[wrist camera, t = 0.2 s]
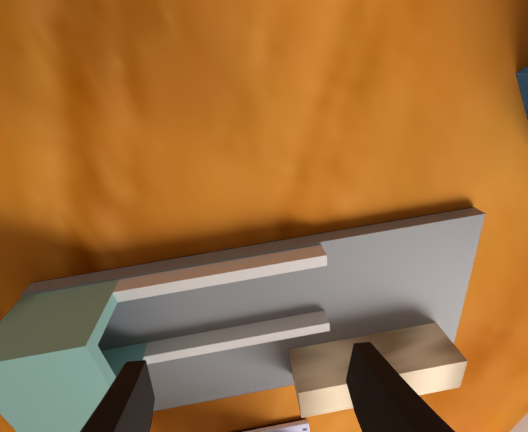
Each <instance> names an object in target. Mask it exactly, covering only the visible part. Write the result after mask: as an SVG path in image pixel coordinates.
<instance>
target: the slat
mask: <svg viewBox="0 0 528 432" xmlns="http://www.w3.org/2000/svg"><path fill="white" fill-rule="evenodd" d="M362 342H371V343H372V344H373V345H374V346H375V348H376V349H377V350H378V351H379V352H380V353H381V354H382V356H383V357H384V358H385V359H386V360H387V361H388V362H389V363H390V365H391V366H392V367H393V368H394V369H395V370H396V371H397V372H398V374H399V375H400V376H401V377H402V378H403V379H404V380H405V381H406V382H407V383H408V384H409V386H410V387H411V388H412V389H413V390H414V391H415V392H416V393H417V394H418V395H423V394H428V393H433V392H438V391H443V390H448V389H454V388H459V387H460V385H461V382H462V378H463V375H464V371H465V368H466V364H467V360H466V359H465V357H464V356H463V355H462V354H461V352H460V351H459V350H458V349H457V348H456V346H455V345H454V344H453V343H452V341H451V340H450V339H449V338H448V336H447V335H446V334H445V333H444V331H443V330H442V329H441V328H440V327H439V325H438V324H437V323H436V322H435V323H430V324H424V325H419V326H414V327H408V328H403V329H397V330H392V331H387V332H381V333H376V334H370V335H365V336H360V337H354V338H349V339H343V340H338V341H333V342H327V343H322V344H316V345H311V346H306V347H300V348H295V349H289V354H290V361H291V369H292V375H293V380H294V385H295V390H296V394H297V399H298V404H299V409H300V413H301V418H304V417H309V416H314V415H320V414H325V413H330V412H335V411H340V410H345V409H350V408H353V404H352V401H351V398H350V394H349V390H348V387H347V383H346V377H347V372H348V368H349V363H350V358H351V354H352V349H353V344H354V343H362Z"/></svg>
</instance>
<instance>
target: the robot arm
mask: <svg viewBox="0 0 528 432" xmlns="http://www.w3.org/2000/svg"><path fill="white" fill-rule="evenodd" d="M346 383H347V387H348V390H349V394H350V398H351V401H352V404H353V408H354V411H355V414H356V417H357V419H358V422H359V424H360V427H361V429H362V432H455V431H454V430H453V429H452V428H451V427H450V426H449V425H448V424H447V423H445V422H444V421H443V420H442V419H441V418H440V417H439V416H438V415H437V414H436V413H435V412H434V411H433V410H432V409H431V408H430V407H429V406H428V405H427V403H426V402H425V401H424V400H423V399H422V398H421V397H420V396H419V395H418V394H417V393H416V392H415V391H414V390H413V389H412V388H411V387H410V386H409V384H408V383H407V382H406V381H405V380H404V379H403V378H402V377H401V376H400V375H399V374H398V372H397V371H396V370H395V369H394V368H393V367H392V366H391V365H390V363H389V362H388V361H387V360H386V359H385V358H384V357H383V356H382V354H381V353H380V352H379V351H378V350H377V349H376V348H375V346H374V345H373V344H372V343H371V342H362V343H354V344H353V349H352V354H351V358H350V363H349V368H348V372H347V377H346ZM154 402H155V396H154V392H153V387H152V383H151V379H150V375H149V371H148V366H147V362H146V360H140V361H128V362H126V363H125V364H124V365H123V367H122V368H121V370H120V372H119V373H118V375H117V377H116V378H115V380H114V381H113V383H112V385H111V386H110V388H109V389H108V391H107V392H106V394H105V395H104V397H103V398H102V400H101V401H100V403H99V404H98V406H97V408H96V409H95V410H94V412H93V413H92V415H91V416H90V418H89V419H88V421H87V422H86V423H85V425H84V426H83V428H82V429H81V431H80V432H150V428H151V422H152V416H153V409H154ZM244 432H310V429H309V422H308V421H307V420H300V421H295V422H290V423H285V424H280V425H275V426H269V427H264V428H259V429H254V430H249V431H244Z"/></svg>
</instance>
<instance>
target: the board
mask: <svg viewBox="0 0 528 432" xmlns="http://www.w3.org/2000/svg"><path fill="white" fill-rule="evenodd" d="M484 217H485V213H483V212H482V211H480V210H478V209H476V208H475V207H473V208H467V209H461V210H455V211H449V212H443V213H438V214H432V215H426V216H420V217H414V218H408V219H403V220H397V221H391V222H385V223H379V224H373V225H368V226H362V227H356V228H350V229H344V230H338V231H333V232H327V233H321V234H315V235H309V236H303V237H298V238H292V239H286V240H280V241H274V242H268V243H263V244H257V245H251V246H245V247H239V248H233V249H228V250H222V251H216V252H210V253H204V254H198V255H193V256H187V257H181V258H175V259H169V260H163V261H158V262H152V263H146V264H140V265H134V266H128V267H122V268H117V269H111V270H105V271H99V272H93V273H87V274H82V275H76V276H70V277H64V278H58V279H52V280H47V281H41V282H35V283H30V284H29V285H28V286H27V288H26V289H25V290H24V291H23V292H22V293H21V295H22V297H21V298H20V300H19V301H18V302H17V303H16V304H15V305H14V306H13V307H12V309H11V310H10V311H9V312H8V313H7V314H6V315H5V316H4V318H3V319H2V320H1V321H0V415H1V416H2V417H3V418H4V419H5V420H6V421H7V422H8V423H9V424H10V425H11V426H12V427H13V428H14V429H15V430H16V431H17V432H80V431H81V429H82V428H83V426H84V425H85V423H86V422H87V421H88V419H89V418H90V416H91V415H92V413H93V412H94V410H95V409H96V408H97V406H98V404H99V403H100V401H101V400H102V398H103V397H104V395H105V394H106V392H107V391H108V389H109V388H110V386H111V385H112V383H113V381H114V380H115V378H116V377H117V375H118V373H119V372H120V370H121V368H122V367H123V365H124V364H125V363H126V362H128V361H140V360H146V362H147V366H148V371H149V375H150V379H151V383H152V387H153V392H154V396H155V402H154V409H153V411H158V410H164V409H169V408H174V407H179V406H185V405H190V404H195V403H200V402H206V401H211V400H216V399H222V398H227V397H232V396H237V395H243V394H248V393H253V392H258V391H264V390H269V389H274V388H280V387H285V386H290V385H294V380H293V375H292V369H291V361H290V354H289V349H295V348H300V347H306V346H311V345H316V344H322V343H327V342H333V341H338V340H343V339H349V338H354V337H360V336H365V335H370V334H376V333H381V332H387V331H392V330H397V329H403V328H408V327H414V326H419V325H424V324H430V323H435V322H436V323H437V324H438V325H439V327H440V328H441V329H442V330H443V331H444V333H445V334H446V335H447V336H448V338H449V339H450V340H451V341H452V343H453V344H454V341H455V337H456V333H457V329H458V325H459V320H460V316H461V312H462V308H463V304H464V300H465V296H466V292H467V287H468V283H469V279H470V275H471V271H472V267H473V263H474V259H475V255H476V250H477V246H478V242H479V238H480V234H481V230H482V226H483V222H484Z"/></svg>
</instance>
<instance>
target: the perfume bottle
mask: <svg viewBox="0 0 528 432" xmlns="http://www.w3.org/2000/svg"><path fill="white" fill-rule="evenodd" d="M516 76H517V80H518V84H519V88H520V91H521V95H522V99H523V103H524V107H525V111H526V114H527V118H528V66H527V67H525V68H524V69H522V70H521V71H519V72H518V73H516Z"/></svg>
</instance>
